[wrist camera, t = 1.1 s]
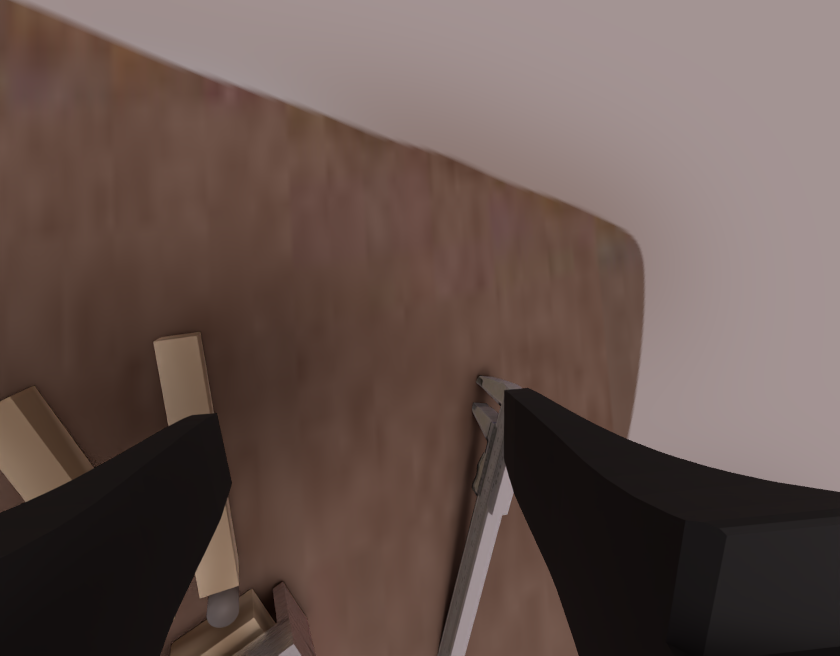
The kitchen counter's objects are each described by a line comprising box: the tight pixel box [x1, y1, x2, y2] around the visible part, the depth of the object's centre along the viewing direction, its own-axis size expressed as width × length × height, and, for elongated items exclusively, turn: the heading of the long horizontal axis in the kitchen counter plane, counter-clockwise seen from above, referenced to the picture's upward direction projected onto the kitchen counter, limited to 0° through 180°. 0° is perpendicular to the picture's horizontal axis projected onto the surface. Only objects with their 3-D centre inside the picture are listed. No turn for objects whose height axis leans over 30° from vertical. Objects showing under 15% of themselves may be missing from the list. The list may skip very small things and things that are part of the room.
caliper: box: [438, 376, 522, 656], centre depth 27 cm, size 20×1×6 cm, turn 171°
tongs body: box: [0, 386, 276, 656], centre depth 22 cm, size 4×18×2 cm, turn 26°
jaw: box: [153, 332, 239, 628], centre depth 22 cm, size 2×14×2 cm, turn 6°
